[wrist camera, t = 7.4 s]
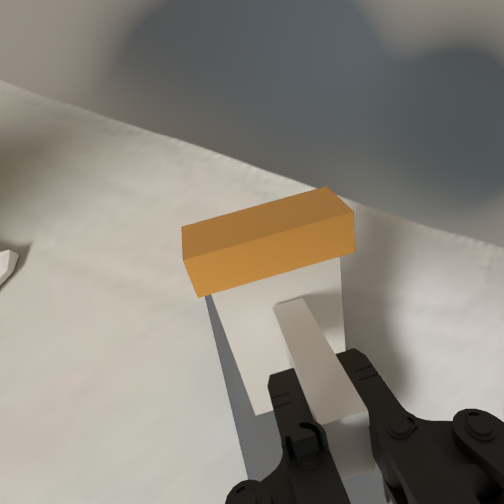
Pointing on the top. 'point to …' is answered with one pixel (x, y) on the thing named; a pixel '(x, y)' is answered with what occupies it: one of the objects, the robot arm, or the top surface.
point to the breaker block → (273, 428)
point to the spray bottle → (7, 264)
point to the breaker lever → (271, 276)
